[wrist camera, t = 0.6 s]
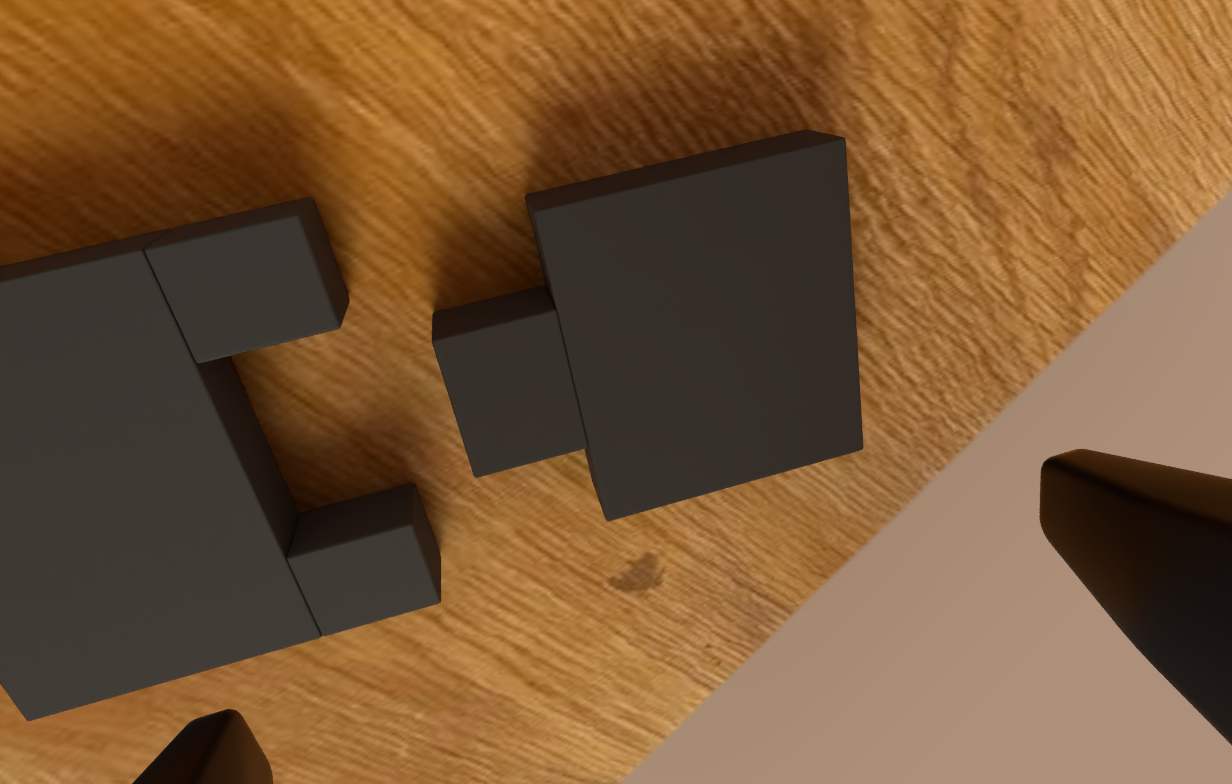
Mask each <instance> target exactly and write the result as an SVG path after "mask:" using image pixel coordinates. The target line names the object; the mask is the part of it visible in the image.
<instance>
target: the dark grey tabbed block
mask: <svg viewBox="0 0 1232 784" xmlns="http://www.w3.org/2000/svg"><path fill="white" fill-rule="evenodd" d="M525 200H526V204H527V208H528V212H529V217H530V221H531V225H532V229H533V233H534V238H535V242H536V246H537V250H538V254H539V259H540V263H541V267H542V271H543V276H544V280H545V284H546V286H540V287H536V288H532V289H528V290H524V291H520V292H516V293H512V294H508V295H504V296H500V297H495V298H491V299H487V300H483V301H479V302H475V303H471V304H467V305H463V306H459V307H455V308H451V309H447V310H443V311H439V312H434V313H433V316H432V344H433V347H434V351H435V354H436V357H437V360H438V363H439V366H440V370H441V373H442V376H443V379H444V382H445V385H446V389H447V392H448V395H449V398H450V401H451V405H452V408H453V411H454V414H455V417H456V420H457V424H458V427H459V430H460V433H461V436H462V439H463V443H464V446H465V449H466V452H467V455H468V459H469V462H470V465H471V468H472V471H473V474H474V476H475V478H478V477H482V476H485V475H489V474H493V473H496V472H500V471H504V470H507V469H511V468H515V467H518V466H522V465H526V464H530V463H533V462H537V461H541V460H544V459H548V458H552V457H555V456H559V455H563V454H567V453H570V452H574V451H578V450H581V449H585V452H586V456H587V460H588V465H589V469H590V473H591V477H592V482H593V485H594V488H595V490H596V493H597V496H598V499H599V502H600V504H601V507H602V510H603V513H604V516H605V518H606V520H607V521H611V520H615V519H619V518H622V517H626V516H629V515H633V514H636V513H640V512H643V511H647V510H651V509H654V508H658V507H661V506H665V505H668V504H672V503H675V502H679V501H682V500H686V499H690V498H693V497H697V496H700V495H704V494H707V493H711V492H714V491H718V490H721V489H725V488H729V487H732V486H736V485H739V484H743V483H746V482H750V481H753V480H757V479H760V478H764V477H768V476H771V475H775V474H778V473H782V472H785V471H789V470H792V469H796V468H799V467H803V466H807V465H810V464H814V463H817V462H821V461H824V460H828V459H831V458H835V457H839V456H842V455H846V454H849V453H853V452H856V451H860V450H862V449H863V433H862V416H861V399H860V382H859V364H858V347H857V330H856V313H855V296H854V278H853V261H852V244H851V227H850V210H849V192H848V175H847V158H846V141H845V138H844V137H840V136H835V135H830V134H825V133H821V132H816V131H811V130H802V131H797V132H793V133H789V134H784V135H780V136H776V137H771V138H767V139H763V140H759V141H754V142H750V143H746V144H741V145H737V146H733V147H728V148H724V149H720V150H716V151H711V152H707V153H703V154H698V155H694V156H690V157H685V158H681V159H677V160H673V161H668V162H664V163H660V164H655V165H651V166H647V167H642V168H638V169H634V170H630V171H625V172H621V173H617V174H612V175H608V176H604V177H600V178H595V179H591V180H587V181H582V182H578V183H574V184H569V185H565V186H561V187H557V188H552V189H548V190H544V191H539V192H535V193H531V194H527V195H526V196H525Z"/></svg>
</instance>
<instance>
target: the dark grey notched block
mask: <svg viewBox="0 0 1232 784" xmlns="http://www.w3.org/2000/svg"><path fill="white" fill-rule="evenodd" d="M349 301H350V300H349V297H348V294H347V291H346V288H345V286H344V283H343V280H342V277H341V274H340V271H339V269H338V266H337V263H336V260H335V257H334V255H333V252H332V249H331V246H330V243H329V241H328V238H327V235H326V232H325V229H324V226H323V224H322V221H321V218H320V215H319V212H318V210H317V207H316V204H315V201H314V199H313V198H311V197H308V198H303V199H299V200H294V201H290V202H285V203H281V204H277V205H272V206H268V207H263V208H259V209H254V210H250V211H246V212H241V213H237V214H232V215H228V216H223V217H219V218H215V219H210V220H206V221H201V222H197V223H192V224H188V225H184V226H179V227H176V228H174V229H165V230H161V231H156V232H152V233H148V234H143V235H139V236H134V237H130V238H126V239H121V240H117V241H112V242H108V243H103V244H99V245H95V246H90V247H86V248H81V249H77V250H72V251H68V252H64V253H59V254H55V255H50V256H46V257H41V258H37V259H33V260H28V261H24V262H19V263H15V264H10V265H6V266H2V267H0V684H1V685H2V687H3V688H4V689H5V691H6V692H7V694H8V695H9V696H10V698H11V699H12V701H13V702H14V703H15V705H16V706H17V707H18V709H19V710H20V712H21V713H22V714H23V716H24V717H25V718H26V720H27V721H32V720H35V719H39V718H42V717H46V716H49V715H53V714H56V713H60V712H63V711H67V710H70V709H74V708H77V707H81V706H84V705H88V704H91V703H95V702H98V701H102V700H105V699H109V698H112V697H116V696H119V695H122V694H126V693H129V692H133V691H136V690H140V689H143V688H147V687H150V686H154V685H157V684H161V683H164V682H168V681H171V680H175V679H178V678H182V677H185V676H189V675H192V674H196V673H199V672H203V671H206V670H210V669H213V668H217V667H220V666H224V665H227V664H231V663H234V662H238V661H241V660H245V659H248V658H252V657H255V656H259V655H262V654H266V653H269V652H273V651H276V650H280V649H283V648H286V647H290V646H293V645H297V644H300V643H304V642H307V641H311V640H314V639H318V638H320V637H322V635H323V636H327V635H331V634H334V633H338V632H341V631H345V630H348V629H352V628H355V627H359V626H362V625H366V624H369V623H373V622H376V621H380V620H383V619H387V618H390V617H394V616H397V615H401V614H404V613H407V612H411V611H414V610H418V609H421V608H425V607H428V606H432V605H435V604H439V603H440V602H441V556H440V553H439V550H438V547H437V544H436V542H435V539H434V536H433V533H432V530H431V527H430V525H429V522H428V519H427V516H426V513H425V511H424V508H423V505H422V502H421V499H420V497H419V494H418V491H417V488H416V485H415V484H414V483H412V484H408V485H404V486H400V487H397V488H393V489H389V490H386V491H382V492H378V493H374V494H371V495H367V496H363V497H359V498H356V499H352V500H348V501H345V502H341V503H337V504H333V505H330V506H326V507H322V508H319V509H315V510H311V511H307V512H304V513H301V514H300V515H299V513H298V511H297V509H296V507H295V504H294V502H293V500H292V498H291V495H290V493H289V491H288V488H287V486H286V484H285V482H284V479H283V477H282V475H281V473H280V470H279V468H278V466H277V463H276V461H275V459H274V457H273V454H272V452H271V450H270V448H269V445H268V443H267V441H266V439H265V436H264V434H263V432H262V429H261V427H260V425H259V423H258V420H257V418H256V416H255V414H254V411H253V409H252V407H251V405H250V402H249V400H248V398H247V395H246V393H245V391H244V389H243V386H242V384H241V382H240V380H239V377H238V375H237V373H236V370H235V368H234V366H233V364H232V361H231V359H230V357H229V356H231V355H235V354H239V353H244V352H248V351H252V350H256V349H260V348H264V347H268V346H272V345H276V344H280V343H284V342H288V341H293V340H297V339H301V338H305V337H309V336H313V335H317V334H321V333H325V332H329V331H333V330H337V329H339V328H340V327H341V324H342V322H343V319H344V316H345V313H346V310H347V308H348V305H349Z"/></svg>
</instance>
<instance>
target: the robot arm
mask: <svg viewBox="0 0 1232 784" xmlns="http://www.w3.org/2000/svg"><path fill="white" fill-rule="evenodd" d="M1040 523H1041V527H1042V530H1043V532H1044V534H1045V536H1046V538H1047V539H1048V541H1049V542H1050V543H1051V545H1052V546H1053V547H1054V548H1055V550H1056V551H1057V552H1058V553H1059V554H1060V556H1061V557H1062V558H1063V559H1064V560H1065V562H1066V563H1067V564H1068V565H1069V567H1070V568H1071V569H1072V570H1073V572H1074V573H1075V574H1076V575H1077V576H1078V578H1079V579H1080V580H1081V581H1082V583H1083V584H1084V585H1085V586H1086V588H1087V589H1088V590H1089V591H1090V592H1091V594H1092V595H1093V596H1094V597H1095V599H1096V600H1097V601H1098V602H1099V603H1100V605H1101V606H1102V607H1103V608H1104V610H1105V611H1106V612H1107V613H1108V614H1109V615H1110V617H1111V618H1112V619H1113V621H1114V622H1115V623H1116V624H1117V626H1118V627H1119V628H1120V629H1121V630H1122V632H1123V633H1124V634H1125V635H1126V636H1127V637H1128V638H1129V640H1130V641H1131V642H1132V643H1133V644H1134V645H1135V646H1136V648H1137V649H1138V650H1139V651H1140V652H1141V653H1142V654H1143V655H1144V656H1145V657H1146V658H1147V659H1148V660H1149V662H1150V663H1151V664H1152V665H1153V666H1154V667H1155V668H1156V669H1157V670H1158V671H1159V672H1160V673H1161V674H1162V675H1163V676H1164V677H1165V678H1166V679H1167V680H1168V681H1169V682H1170V683H1171V684H1172V685H1173V686H1174V687H1175V688H1176V689H1177V690H1178V691H1179V692H1180V693H1181V694H1182V695H1183V696H1184V697H1185V698H1186V699H1187V700H1188V701H1189V702H1190V703H1191V704H1192V705H1193V706H1194V707H1195V708H1196V709H1197V710H1198V711H1199V713H1201V715H1202V716H1203V717H1204V718H1205V719H1206V720H1207V721H1208V722H1209V723H1210V724H1211V725H1212V726H1213V727H1215V728H1216V730H1217V731H1218V732H1219V733H1220V734H1221V735H1222V736H1223V737H1224V738H1225V739H1226V740H1227V741H1228V742H1229V743H1230V744H1231V745H1232V479H1228V478H1223V477H1219V476H1214V475H1209V474H1204V473H1199V472H1194V471H1190V470H1184V469H1179V468H1175V467H1170V466H1165V465H1160V464H1155V463H1150V462H1145V461H1140V460H1136V459H1131V458H1126V457H1121V456H1116V455H1111V454H1106V453H1101V452H1096V451H1092V450H1087V449H1076V450H1072V451H1069V452H1065V453H1062V454H1059V455H1056V456H1053V457H1050V458H1048V459H1047V460H1046V461H1045V462H1044V463H1043V466H1042V467H1041V483H1040ZM132 784H273V776H272V771H271V767H270V764H269V762H268V760H267V758H266V756H265V754H264V753H263V751H262V749H261V747H260V746H259V744H258V742H257V740H256V739H255V737H254V735H253V733H252V732H251V730H250V728H249V727H248V725H247V723H246V721H245V720H244V718H243V717H242V715H241V714H240V713H239V712H237V711H236V710H232V709H226V710H223V711H220V712H217V713H213V714H210V715H207V716H204V717H200V718H197V719H195V720H193V721H191V722H190V723H189V724H188V725H187V726H186V727H185V728H184V729H183V730H182V731H181V732H180V733H179V734H178V735H177V736H176V737H175V738H174V739H173V740H172V742H171V743H170V744H169V745H168V746H167V747H166V748H165V749H164V750H163V751H162V752H161V753H160V754H159V755H158V757H157V758H156V759H155V760H154V761H153V762H152V763H151V764H150V765H149V766H148V767H147V768H146V769H145V770H144V772H143V773H142V774H141V775H140V776H139V777H138V778H137V779H136V780H135V781H134V782H133V783H132Z"/></svg>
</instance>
